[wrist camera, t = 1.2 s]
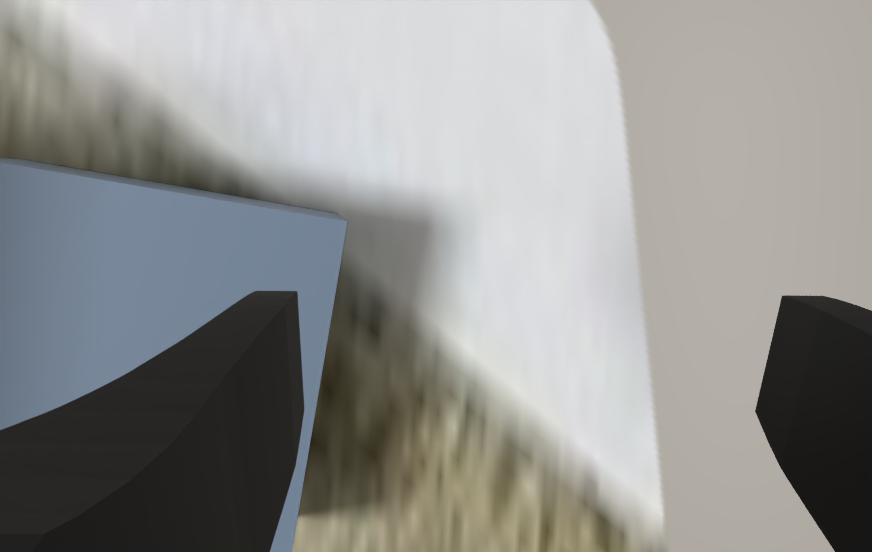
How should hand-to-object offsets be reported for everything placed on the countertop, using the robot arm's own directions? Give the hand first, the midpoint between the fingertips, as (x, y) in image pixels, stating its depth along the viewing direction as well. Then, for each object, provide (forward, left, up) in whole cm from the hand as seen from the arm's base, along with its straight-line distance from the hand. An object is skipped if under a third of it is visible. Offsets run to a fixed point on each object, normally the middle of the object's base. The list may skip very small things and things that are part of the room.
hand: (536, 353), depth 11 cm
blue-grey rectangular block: (+2, +7, -13) cm, 15 cm away
